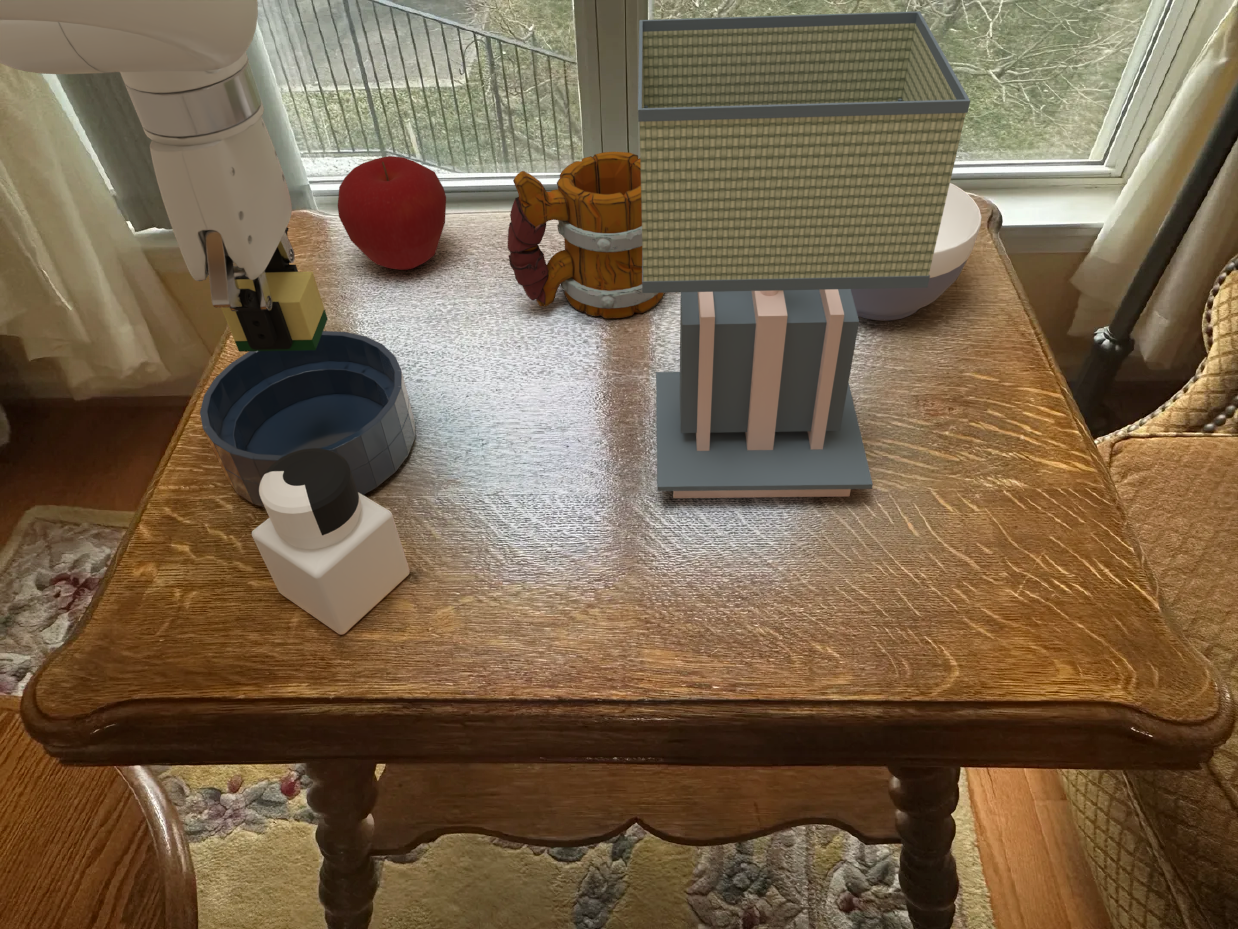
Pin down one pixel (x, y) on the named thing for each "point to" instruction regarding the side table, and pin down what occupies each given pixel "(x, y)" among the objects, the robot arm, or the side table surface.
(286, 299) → the sponge
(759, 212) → the desk lamp
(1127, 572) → the side table surface
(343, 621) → the medicine bottle
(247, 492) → the bowl
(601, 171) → the mug
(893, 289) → the bowl
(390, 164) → the apple
